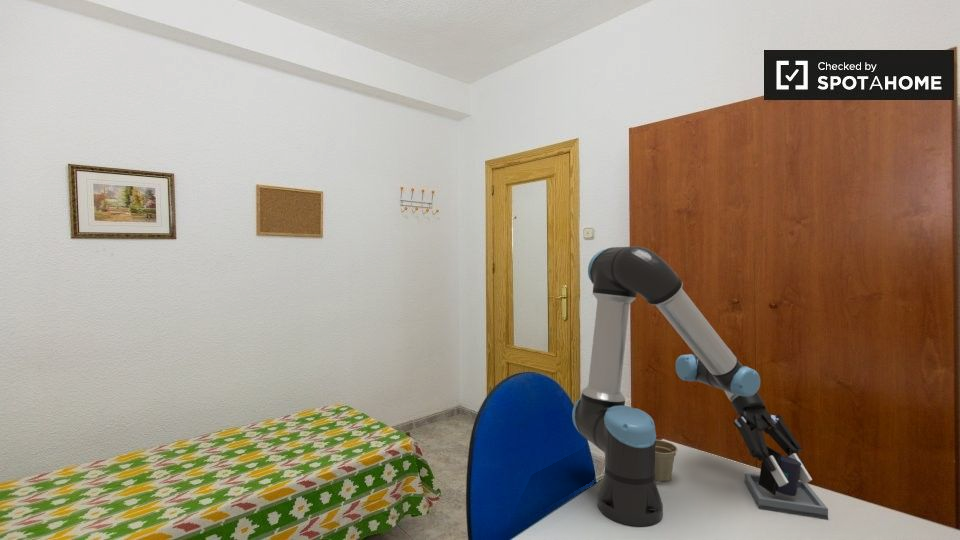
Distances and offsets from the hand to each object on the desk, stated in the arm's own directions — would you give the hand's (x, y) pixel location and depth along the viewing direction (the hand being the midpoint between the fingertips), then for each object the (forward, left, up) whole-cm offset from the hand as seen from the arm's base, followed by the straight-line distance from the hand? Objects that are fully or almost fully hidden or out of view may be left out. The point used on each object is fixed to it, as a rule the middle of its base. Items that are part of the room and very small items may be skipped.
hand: (795, 483), depth 108 cm
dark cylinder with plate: (-2, +3, -4) cm, 5 cm away
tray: (-2, +3, -6) cm, 7 cm away
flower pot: (-31, +6, -6) cm, 32 cm away
